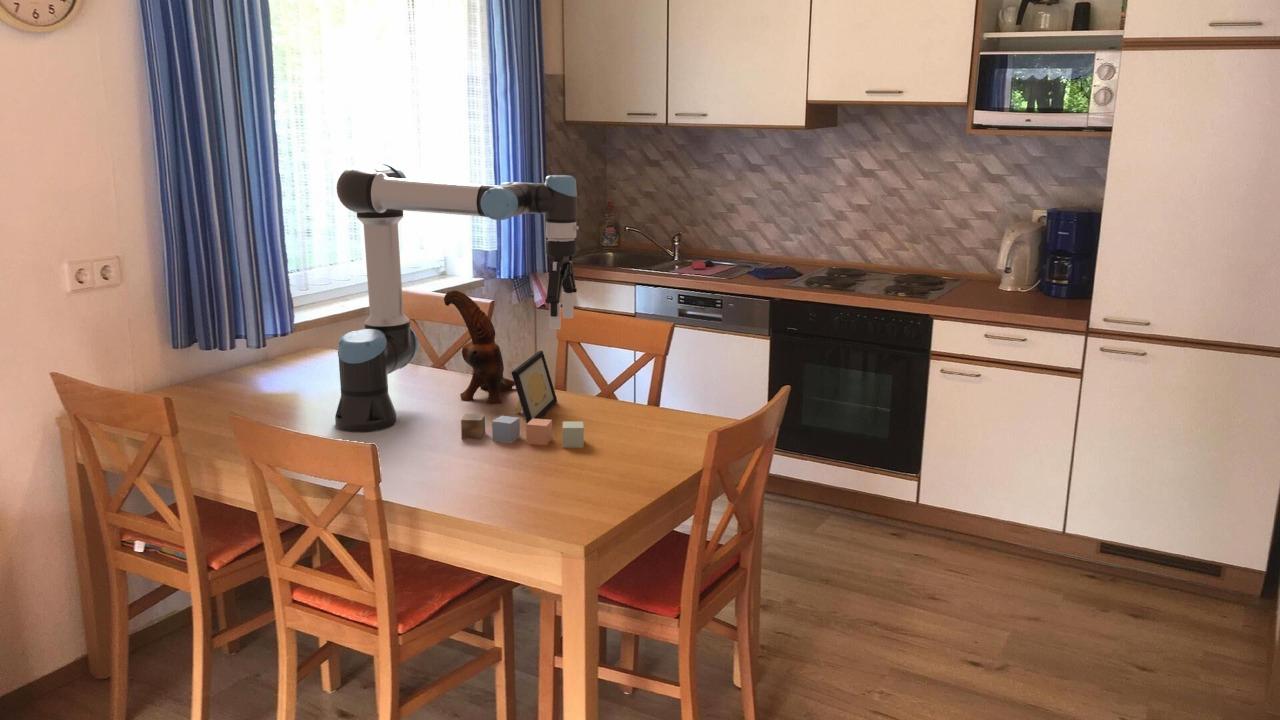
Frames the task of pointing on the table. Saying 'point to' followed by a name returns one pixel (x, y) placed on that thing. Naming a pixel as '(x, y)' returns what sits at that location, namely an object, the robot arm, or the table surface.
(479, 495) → the table surface
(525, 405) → the picture frame
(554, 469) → the table surface
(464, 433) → the walnut block
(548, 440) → the terracotta block
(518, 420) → the slate block
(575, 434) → the sage block
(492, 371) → the sculpture
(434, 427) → the table surface
